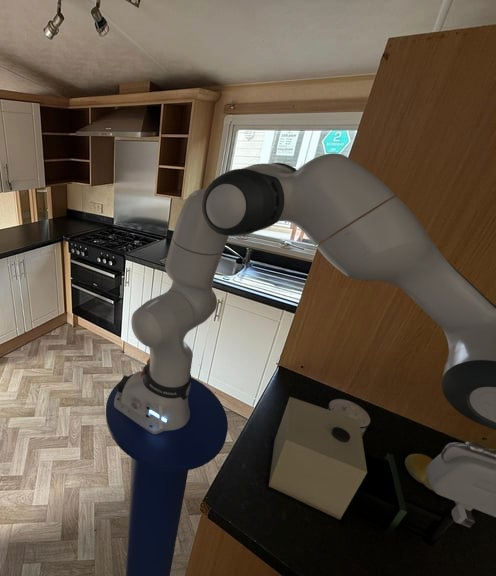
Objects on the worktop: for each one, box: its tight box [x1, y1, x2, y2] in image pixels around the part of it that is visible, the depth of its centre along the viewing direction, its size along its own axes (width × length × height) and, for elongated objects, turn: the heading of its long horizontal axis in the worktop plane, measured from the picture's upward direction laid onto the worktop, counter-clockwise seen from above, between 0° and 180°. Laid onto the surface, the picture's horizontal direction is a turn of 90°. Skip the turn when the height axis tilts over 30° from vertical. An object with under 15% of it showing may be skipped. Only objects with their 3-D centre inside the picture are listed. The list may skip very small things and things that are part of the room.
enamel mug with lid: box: [327, 398, 371, 436], centre depth 83 cm, size 12×9×12 cm
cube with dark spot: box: [268, 396, 367, 520], centre depth 71 cm, size 14×14×17 cm
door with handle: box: [344, 451, 455, 547], centre depth 67 cm, size 21×14×10 cm, turn 60°
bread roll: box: [404, 453, 435, 492], centre depth 74 cm, size 8×9×4 cm
